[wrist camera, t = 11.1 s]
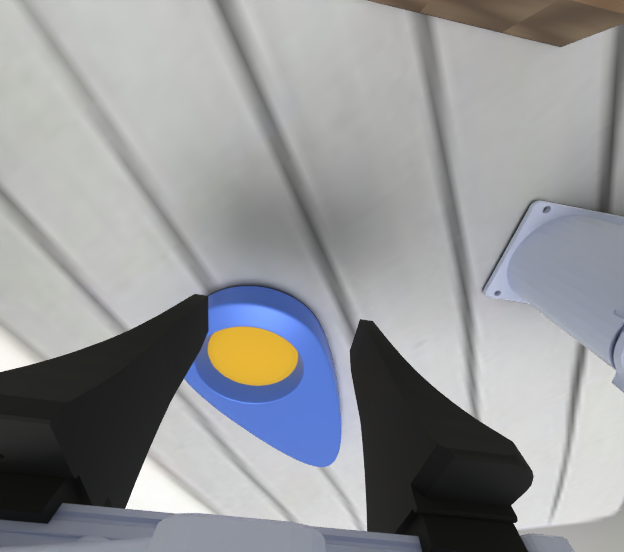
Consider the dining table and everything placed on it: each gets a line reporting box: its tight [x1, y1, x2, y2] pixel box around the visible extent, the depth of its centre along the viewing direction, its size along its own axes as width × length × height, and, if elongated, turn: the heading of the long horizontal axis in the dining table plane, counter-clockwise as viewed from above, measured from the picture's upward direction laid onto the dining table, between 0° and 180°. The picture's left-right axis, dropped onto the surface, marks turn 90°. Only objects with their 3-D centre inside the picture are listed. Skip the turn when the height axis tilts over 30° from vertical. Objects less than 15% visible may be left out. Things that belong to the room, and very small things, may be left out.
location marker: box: [184, 286, 341, 467], centre depth 27 cm, size 13×3×25 cm
